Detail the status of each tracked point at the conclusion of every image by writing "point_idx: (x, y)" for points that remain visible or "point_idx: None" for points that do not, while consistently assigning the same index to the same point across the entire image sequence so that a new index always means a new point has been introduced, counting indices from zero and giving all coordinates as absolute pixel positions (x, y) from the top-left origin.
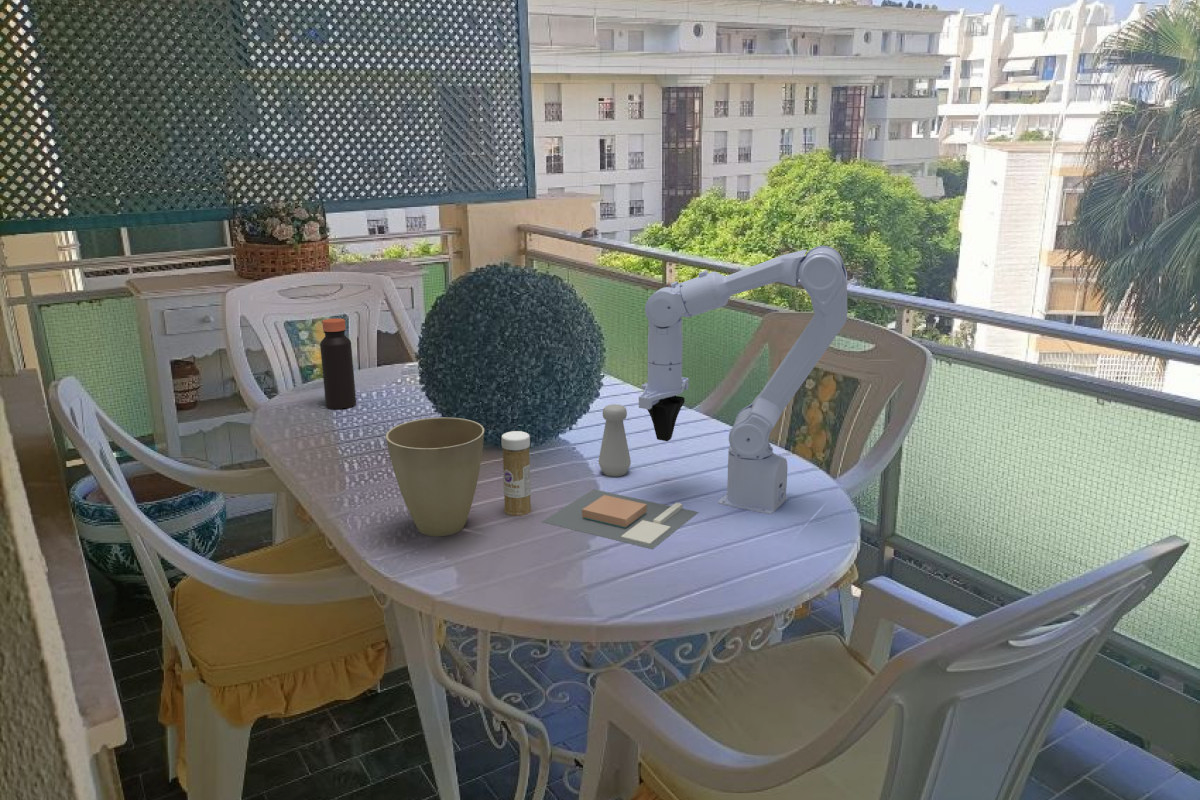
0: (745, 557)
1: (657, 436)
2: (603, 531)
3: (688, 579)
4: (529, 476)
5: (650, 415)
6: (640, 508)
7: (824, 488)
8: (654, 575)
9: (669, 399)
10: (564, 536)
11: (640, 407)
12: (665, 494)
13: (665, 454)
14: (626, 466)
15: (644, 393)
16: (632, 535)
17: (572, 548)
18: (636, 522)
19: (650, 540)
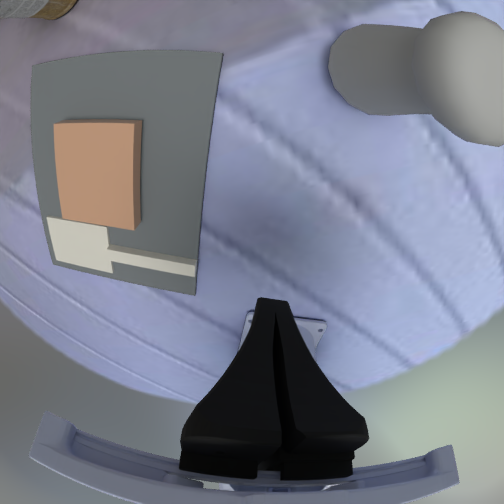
0: (112, 345)
1: (256, 307)
2: (48, 181)
3: (42, 305)
4: (6, 12)
5: (227, 369)
6: (111, 225)
7: (349, 386)
8: (25, 276)
9: (272, 469)
10: (20, 129)
11: (47, 416)
12: (268, 219)
13: (492, 171)
14: (357, 108)
15: (93, 485)
16: (57, 231)
17: (5, 163)
18: None
19: (62, 258)
